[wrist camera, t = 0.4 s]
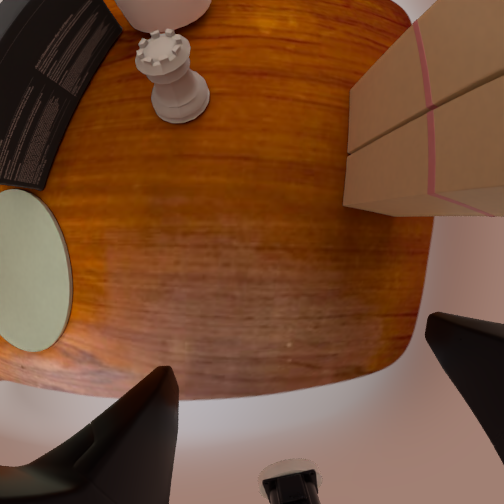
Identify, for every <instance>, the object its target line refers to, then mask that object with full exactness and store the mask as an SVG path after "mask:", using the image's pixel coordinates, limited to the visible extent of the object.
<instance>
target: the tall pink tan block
mask: <svg viewBox="0 0 504 504" xmlns="http://www.w3.org/2000/svg"><path fill="white" fill-rule="evenodd" d="M501 76H504V0H437V1H436V2H435V3H434V4H433V5H432V6H431V7H430V8H429V9H428V10H427V11H426V12H425V13H424V14H423V15H422V16H421V17H420V18H419V19H418V20H416V21H415V22H414V23H413V25H412V26H411V27H410V28H409V29H408V30H407V31H406V32H405V33H404V34H403V35H402V36H401V37H400V38H399V39H398V40H397V41H396V42H395V43H394V44H393V45H392V46H391V47H390V48H389V49H388V50H387V51H386V52H385V53H384V54H383V55H382V56H381V57H380V59H379V60H378V61H377V62H376V63H375V64H374V65H373V66H372V67H371V68H370V69H369V70H368V71H367V72H366V73H365V75H364V76H363V77H362V78H361V79H360V80H359V81H358V82H357V83H356V84H355V85H354V86H353V88H352V89H351V90H350V110H349V134H348V150H347V153H349V154H353V153H355V152H356V151H358V150H360V149H362V148H364V147H365V146H367V145H369V144H371V143H373V142H374V141H376V140H378V139H380V138H382V137H383V136H385V135H387V134H389V133H391V132H393V131H394V130H396V129H398V128H400V127H402V126H404V125H406V124H407V123H409V122H411V121H413V120H415V119H417V118H419V117H421V116H423V115H424V114H426V113H427V112H429V111H431V110H434V109H436V108H438V107H440V106H442V105H444V104H446V103H448V102H450V101H452V100H454V99H456V98H458V97H460V96H462V95H464V94H466V93H468V92H470V91H472V90H474V89H476V88H478V87H480V86H482V85H484V84H486V83H489V82H491V81H493V80H495V79H497V78H499V77H501Z"/></svg>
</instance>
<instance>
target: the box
mask: <svg viewBox="0 0 504 504" xmlns="http://www.w3.org/2000/svg"><path fill="white" fill-rule="evenodd" d="M121 32H122V27H121V26H120V25H119V24H118V22H117V21H116V19H115V18H114V16H113V15H112V13H111V12H110V11H109V9H108V7H107V6H106V4H105V3H104V1H103V0H3V1H2V2H1V3H0V184H2V185H9V186H16V187H23V188H31V189H36V190H39V191H42V190H43V189H44V186H45V182H46V179H47V176H48V173H49V170H50V167H51V164H52V161H53V158H54V156H55V153H56V151H57V148H58V146H59V143H60V141H61V138H62V136H63V134H64V131H65V129H66V127H67V125H68V122H69V120H70V118H71V116H72V114H73V112H74V110H75V108H76V106H77V103H78V102H79V100H80V98H81V96H82V94H83V92H84V90H85V88H86V87H87V85H88V83H89V81H90V79H91V78H92V76H93V74H94V73H95V71H96V69H97V68H98V66H99V64H100V63H101V61H102V60H103V58H104V56H105V55H106V53H107V52H108V50H109V49H110V47H111V46H112V44H113V43H114V41H115V40H116V39H117V37H118V36H119V35H120V33H121Z"/></svg>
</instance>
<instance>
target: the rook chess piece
mask: <svg viewBox="0 0 504 504" xmlns="http://www.w3.org/2000/svg"><path fill="white" fill-rule="evenodd" d="M150 34H151V38H150V39H149V40H146V39H144V38H143V39H142V40H141V41H140V42H139V44H138V45H139V47H140V49H139V50H137V55H136V59H135V63H136V66H137V69H138V70H140V71H141V72H142V73H143V74H146V75H147V78H148V79H149V80H151V81H152V82H154V87H153V90H152V96H151V101H152V104H153V107H154V109H155V111H156V114H157V115H158V116H159V117H160V118H161V119H162V120H165V121H168V122H170V123H185V122H187V121H190V120H192V119H195V118H196V117H197V116H198V115H200V114H201V113H202V112H203V111H204V110H205V108H206V106H207V104H208V103H209V95H210V92H209V89H208V87H207V84H206V82H205V79H204V78H203V77H202V76H200V75H199V74H198V73H197V72H195V71H192V70H190V68H189V66H190V59H189V55H190V49H191V46H190V44H189V42H188V40H187V39H186V38H184V37H183V36H182V35H180V34H175V32H174V30H172V29H166V31H165V33H163V34H160V33H159V30H156V31H153V32H151V33H150Z"/></svg>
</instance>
